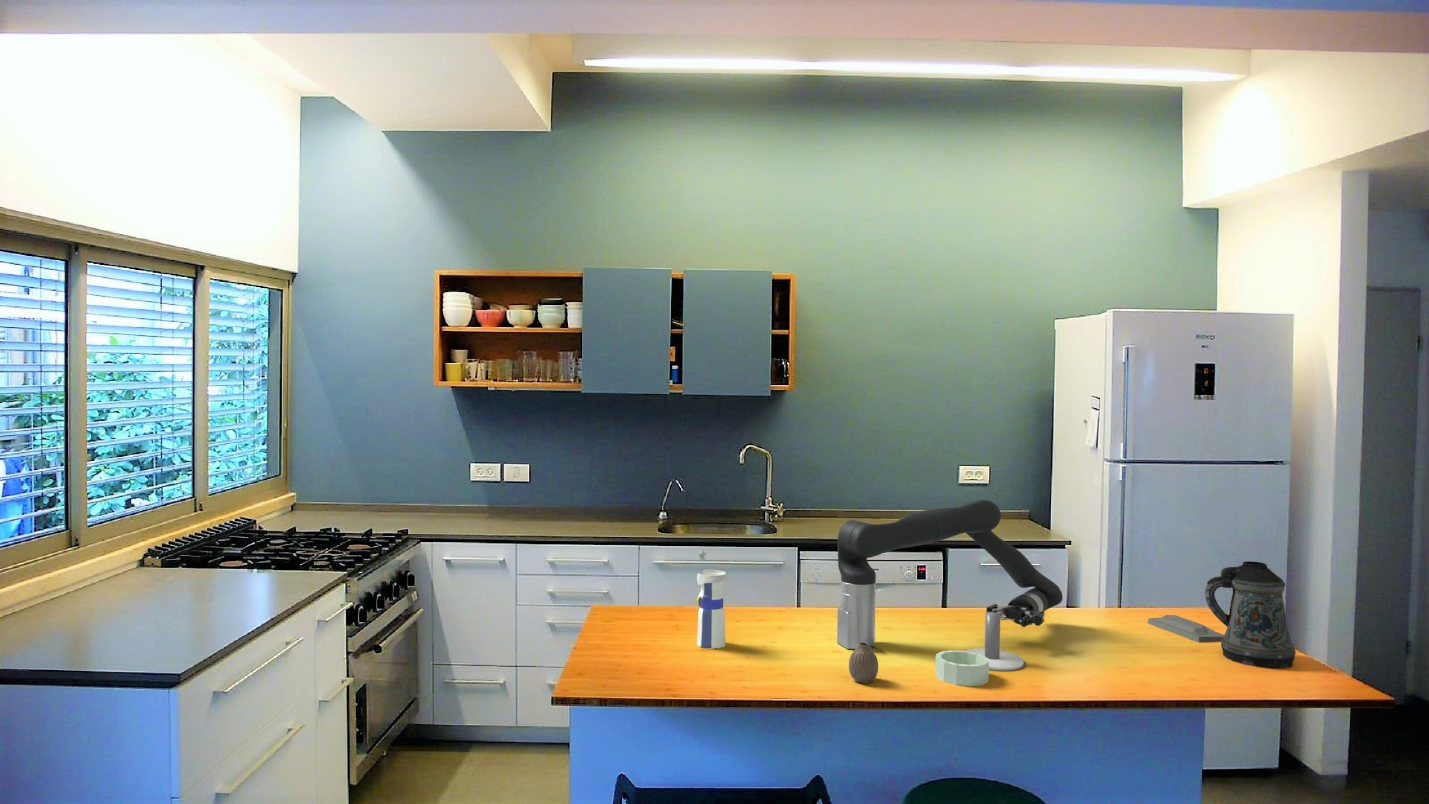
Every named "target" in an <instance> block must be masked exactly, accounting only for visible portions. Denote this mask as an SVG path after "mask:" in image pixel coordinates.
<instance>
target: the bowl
mask: <svg viewBox="0 0 1429 804" xmlns="http://www.w3.org/2000/svg"><path fill="white" fill-rule="evenodd" d="M989 673H990V671H989V661H988V658H987V657H985V656H983V655H980V654H977V653H973V652H968V651H966V650H954V649H952V650H951V649H950V650H942V651H940V652H938V653H935V678H936V679H938V680H940V681H941V682H943V683H945V684H950V685H954V686H962V687H977V686H979V687H980V686H983V685H986V684H987V683H989V680H990V678H989V677H990V674H989Z"/></svg>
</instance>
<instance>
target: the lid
mask: <svg viewBox="0 0 1429 804" xmlns="http://www.w3.org/2000/svg"><path fill="white" fill-rule="evenodd" d="M984 615H985V621H984V622H985V625H984V627H985V628H984V648H983V647H981V648H970V649H966V650H965V651H968V652H973V653H977V654H980V655H983V656H985V657H987V658H988V661H989V670H995V671H994V672H998V671H1010V670H1017V669H1020V668H1022V667H1023V663H1025V662H1024V659H1023V657H1021V656H1020V655H1018V654H1016V653H1013V652H1010V651H1007V650H1002V649H1000V648H1001V646H1000V645H1001V619H1000V614H999V612H998V613H995V612H987V613H986V612H985V614H984ZM1017 671H1018V670H1017ZM1010 672H1011V671H1010Z"/></svg>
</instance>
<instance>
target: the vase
mask: <svg viewBox="0 0 1429 804" xmlns="http://www.w3.org/2000/svg"><path fill="white" fill-rule="evenodd" d="M848 670H849V674H850V677H851V678H852V679H853V680H854V681H855V682H856V683H859V684H871V683H872V682H873V681H874V680H875V679H876V678H877V676H878V673H879V661H878V657H877V655H876V654H875V652H874V651H873V649H872V648H870V646H869V644H868V643H865V642H861V643H859V644H858V646H857V648H856V649H853V651H852V653H851V654H850V657H849V659H848Z"/></svg>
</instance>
